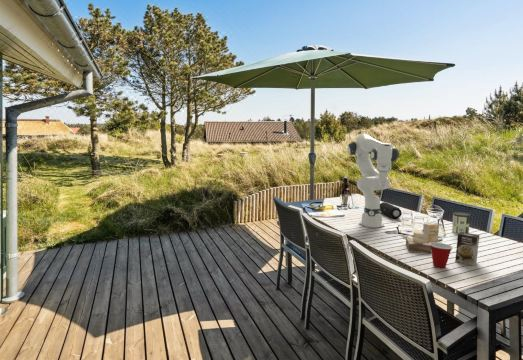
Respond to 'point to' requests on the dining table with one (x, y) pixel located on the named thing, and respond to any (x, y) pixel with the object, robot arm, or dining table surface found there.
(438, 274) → the dining table surface
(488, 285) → the dining table surface
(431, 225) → the supplement box
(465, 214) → the coffee can
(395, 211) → the portable speaker
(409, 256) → the dining table surface
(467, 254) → the coffee box
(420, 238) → the maple block
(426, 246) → the walnut block
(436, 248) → the plastic cup
